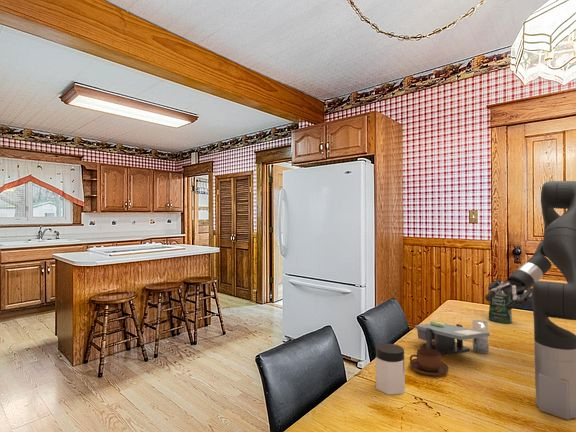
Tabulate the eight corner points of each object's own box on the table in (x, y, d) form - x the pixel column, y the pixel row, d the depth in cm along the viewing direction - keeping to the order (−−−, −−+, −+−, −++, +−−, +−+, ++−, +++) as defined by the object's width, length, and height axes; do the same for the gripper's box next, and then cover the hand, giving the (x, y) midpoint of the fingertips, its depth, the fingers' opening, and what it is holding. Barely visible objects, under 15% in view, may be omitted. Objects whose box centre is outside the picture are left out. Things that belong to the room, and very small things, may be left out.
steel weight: (485, 354, 126) (484, 325, 126) (470, 351, 130) (470, 322, 130) (490, 351, 129) (490, 322, 129) (475, 347, 133) (475, 319, 133)
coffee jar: (486, 320, 167) (485, 282, 167) (492, 317, 172) (491, 280, 173) (509, 325, 160) (508, 285, 160) (514, 321, 165) (513, 283, 166)
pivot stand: (420, 349, 132) (419, 325, 133) (454, 344, 137) (453, 321, 137) (434, 356, 125) (434, 332, 125) (470, 351, 129) (469, 327, 129)
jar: (399, 380, 107) (398, 342, 107) (411, 393, 99) (410, 352, 99) (371, 382, 106) (370, 343, 106) (381, 396, 98) (380, 354, 98)
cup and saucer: (425, 381, 107) (424, 361, 107) (402, 365, 118) (402, 347, 118) (457, 376, 110) (456, 356, 110) (432, 361, 121) (431, 344, 122)
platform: (416, 338, 138) (414, 321, 139) (440, 335, 141) (438, 318, 142) (463, 352, 114) (460, 331, 115) (491, 348, 118) (488, 327, 119)
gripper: (505, 264, 136) (476, 290, 133) (540, 275, 122) (510, 304, 120) (511, 278, 138) (484, 303, 135) (547, 290, 124) (517, 319, 122)
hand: (496, 303), depth 127 cm, fingers open, 8 cm apart
